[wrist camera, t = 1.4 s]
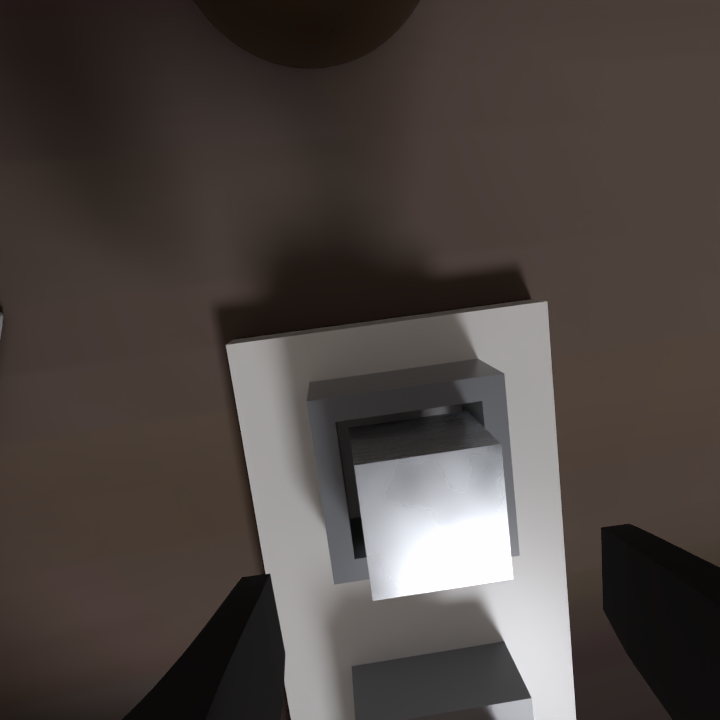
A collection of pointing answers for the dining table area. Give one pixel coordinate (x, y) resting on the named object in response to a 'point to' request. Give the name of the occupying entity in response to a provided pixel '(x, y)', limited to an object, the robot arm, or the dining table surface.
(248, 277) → the dining table surface
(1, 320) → the skincare box
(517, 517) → the console
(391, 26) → the olive oil
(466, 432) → the button grey
